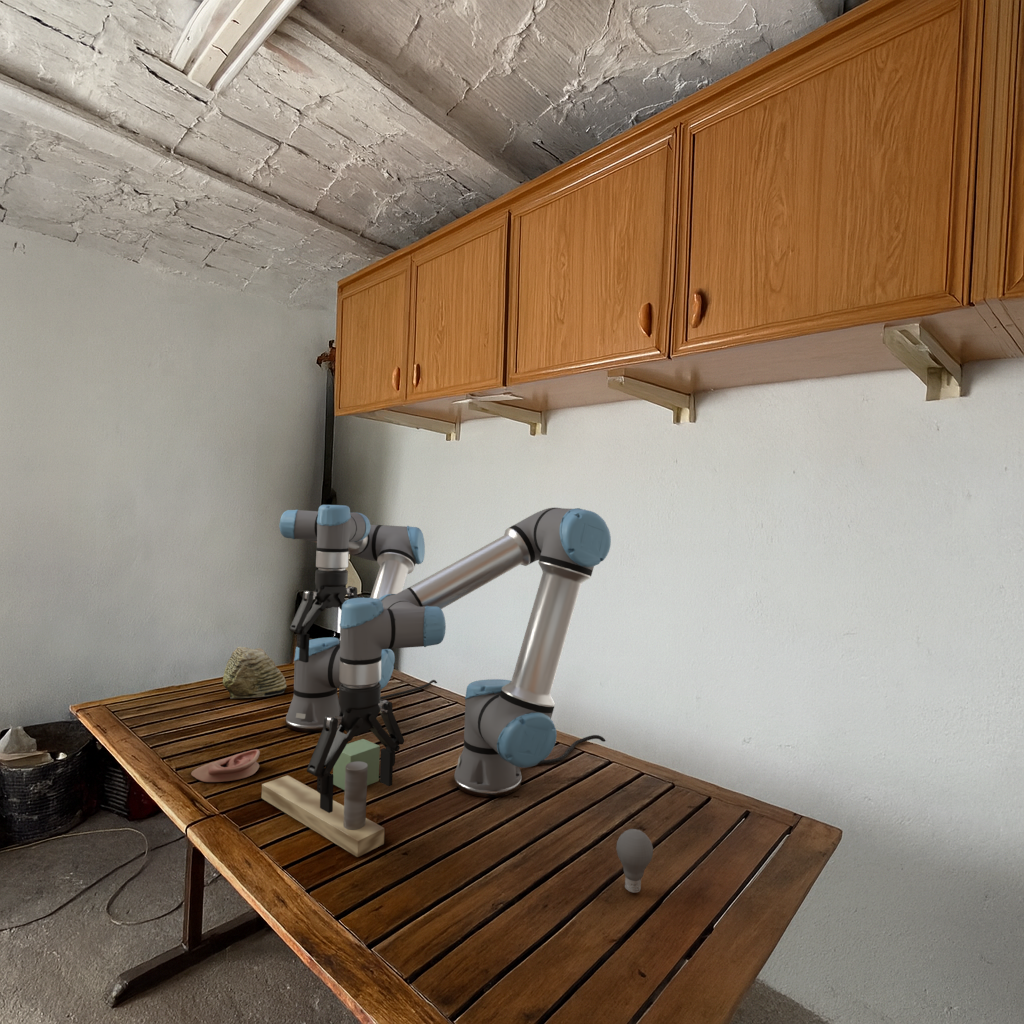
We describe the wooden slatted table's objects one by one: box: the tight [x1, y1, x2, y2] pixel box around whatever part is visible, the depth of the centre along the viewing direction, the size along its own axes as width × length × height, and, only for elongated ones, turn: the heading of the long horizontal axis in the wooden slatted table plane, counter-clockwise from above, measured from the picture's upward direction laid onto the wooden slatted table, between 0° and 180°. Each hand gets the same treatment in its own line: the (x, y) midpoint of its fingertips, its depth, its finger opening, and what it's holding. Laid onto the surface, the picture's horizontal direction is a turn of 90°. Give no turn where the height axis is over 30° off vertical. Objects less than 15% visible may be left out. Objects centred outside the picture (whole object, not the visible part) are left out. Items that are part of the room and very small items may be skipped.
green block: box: [332, 738, 381, 791], centre depth 141 cm, size 8×6×8 cm
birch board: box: [261, 761, 385, 858], centre depth 124 cm, size 6×32×14 cm, turn 51°
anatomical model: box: [190, 748, 261, 783], centre depth 143 cm, size 13×4×12 cm
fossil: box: [222, 646, 288, 699], centre depth 198 cm, size 9×18×15 cm, turn 132°
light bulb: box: [615, 828, 654, 894], centre depth 106 cm, size 6×6×10 cm
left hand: (328, 656), depth 153 cm, fingers open, 13 cm apart
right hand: (357, 796), depth 118 cm, fingers open, 13 cm apart
